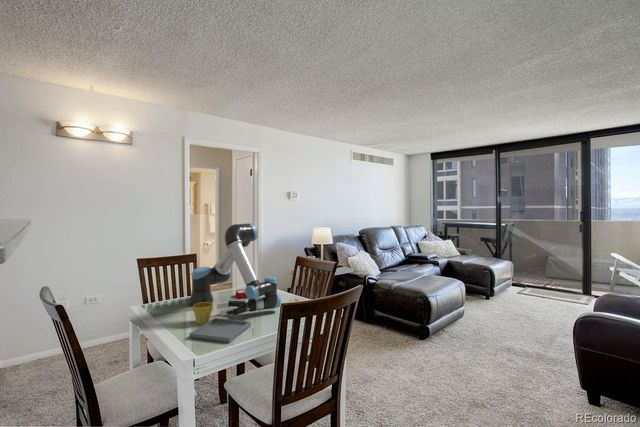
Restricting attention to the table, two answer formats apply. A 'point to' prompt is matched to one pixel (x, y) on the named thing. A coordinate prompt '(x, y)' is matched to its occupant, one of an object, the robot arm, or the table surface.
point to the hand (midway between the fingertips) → (218, 309)
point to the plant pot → (202, 312)
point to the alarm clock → (240, 294)
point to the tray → (220, 330)
